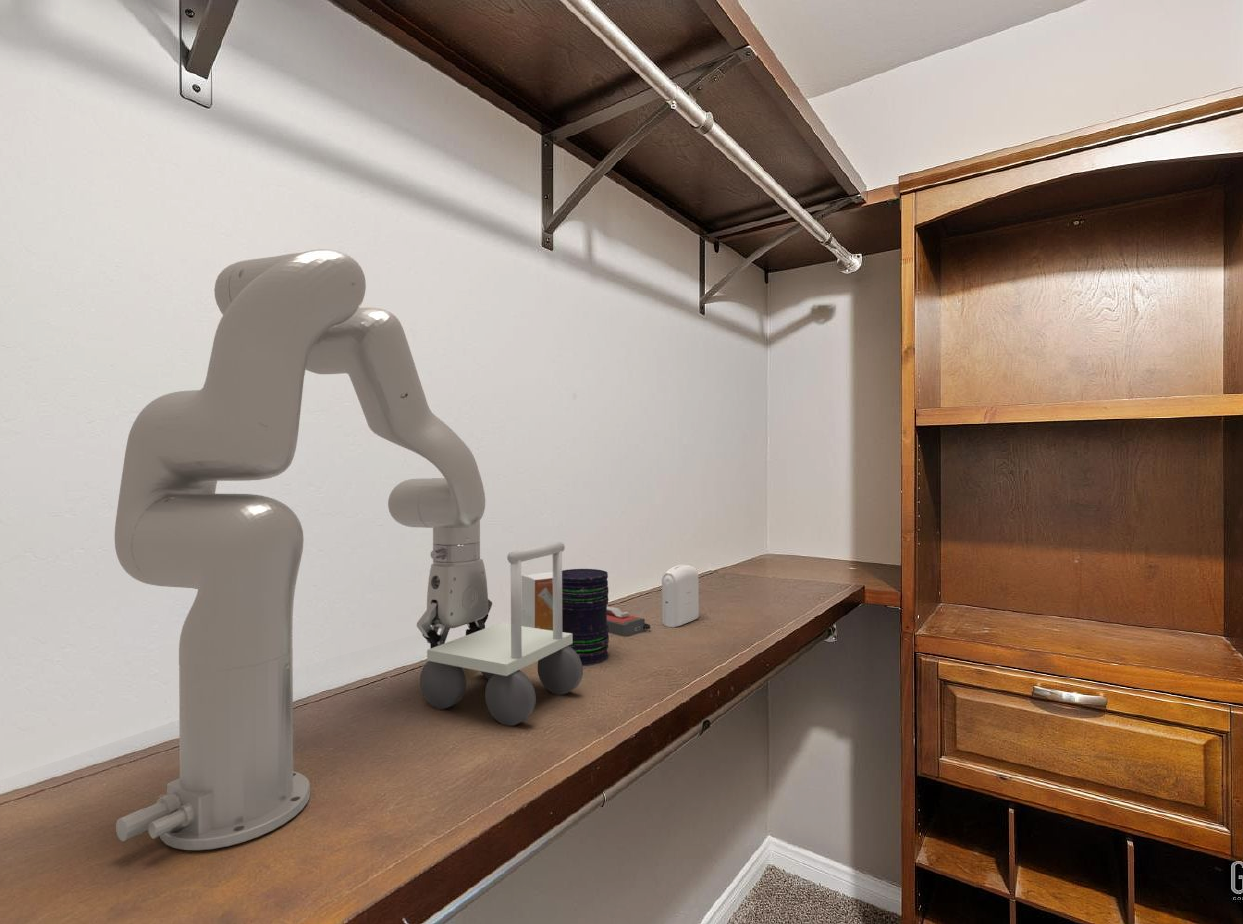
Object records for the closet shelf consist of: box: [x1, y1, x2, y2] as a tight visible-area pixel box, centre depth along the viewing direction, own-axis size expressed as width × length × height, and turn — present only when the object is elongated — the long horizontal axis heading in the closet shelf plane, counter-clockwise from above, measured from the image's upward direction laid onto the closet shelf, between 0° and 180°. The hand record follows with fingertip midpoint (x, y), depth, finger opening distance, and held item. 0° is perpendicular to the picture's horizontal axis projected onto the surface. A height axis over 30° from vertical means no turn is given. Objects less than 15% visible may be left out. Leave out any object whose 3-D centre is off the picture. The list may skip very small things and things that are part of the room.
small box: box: [521, 571, 553, 631], centre depth 118 cm, size 8×6×13 cm
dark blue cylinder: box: [562, 568, 610, 667], centre depth 108 cm, size 10×10×15 cm
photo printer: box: [661, 564, 700, 628], centre depth 132 cm, size 10×4×12 cm, turn 141°
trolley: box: [419, 541, 584, 727], centre depth 89 cm, size 16×19×23 cm
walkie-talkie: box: [607, 605, 651, 638], centre depth 130 cm, size 9×4×20 cm
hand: (457, 660), depth 99 cm, fingers open, 7 cm apart
